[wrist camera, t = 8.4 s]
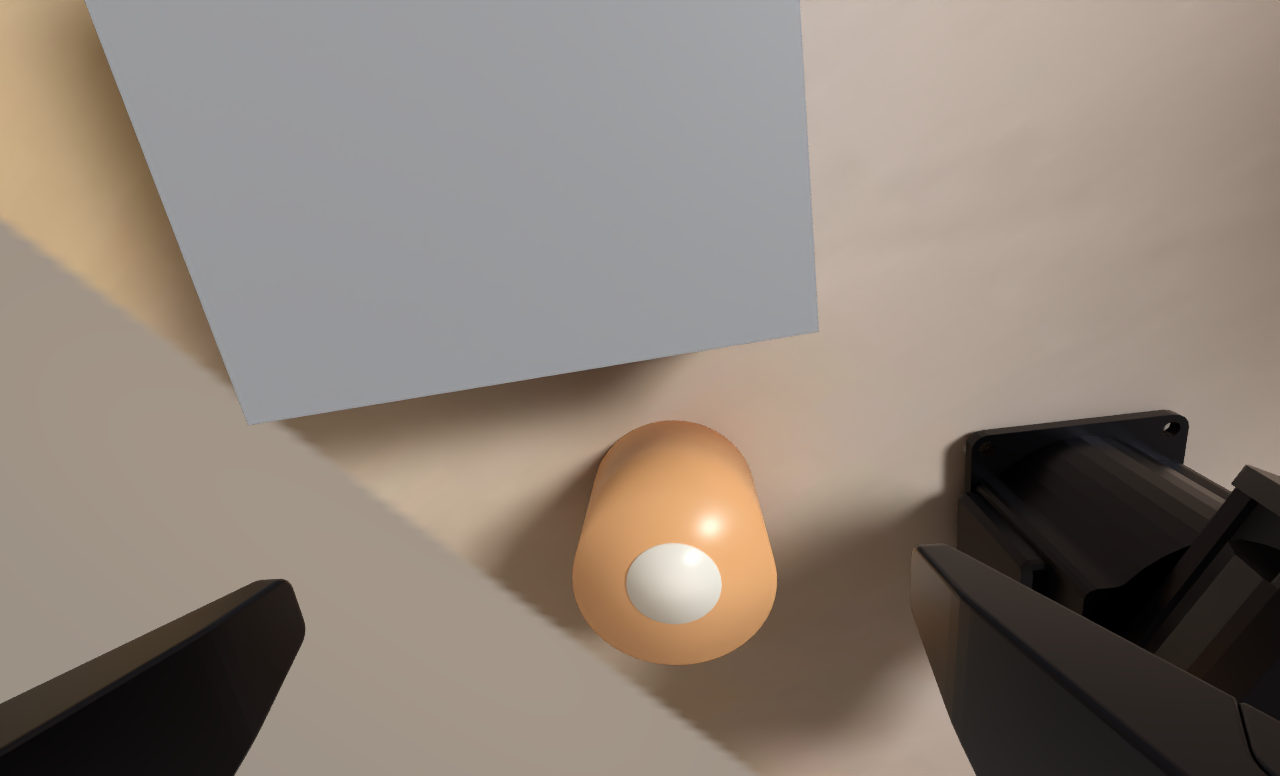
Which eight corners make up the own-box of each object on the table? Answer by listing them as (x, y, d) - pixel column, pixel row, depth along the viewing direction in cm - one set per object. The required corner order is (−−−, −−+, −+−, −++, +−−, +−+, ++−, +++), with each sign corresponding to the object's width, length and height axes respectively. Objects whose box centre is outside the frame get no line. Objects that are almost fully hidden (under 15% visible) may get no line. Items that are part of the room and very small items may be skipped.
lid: (748, -571, 9) (762, -638, 9) (806, 323, 14) (818, 331, 13) (-57, -462, 9) (-116, -519, 9) (267, 412, 14) (247, 425, 13)
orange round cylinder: (746, 410, 20) (769, 483, 15) (760, 554, 22) (784, 658, 17) (581, 430, 21) (553, 506, 16) (608, 568, 23) (591, 674, 18)
